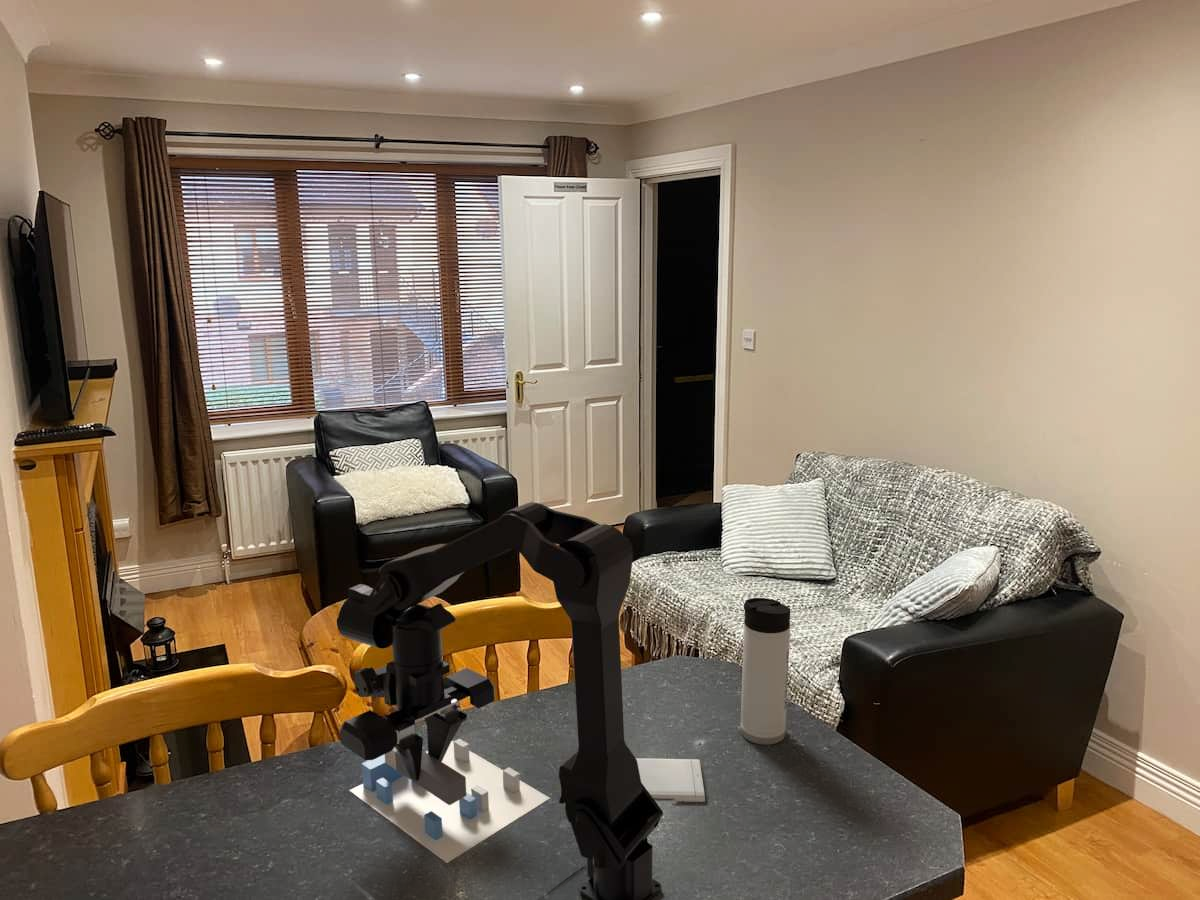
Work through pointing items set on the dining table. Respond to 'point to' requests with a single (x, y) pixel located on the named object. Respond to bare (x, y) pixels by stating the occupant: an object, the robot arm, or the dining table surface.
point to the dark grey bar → (433, 776)
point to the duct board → (437, 823)
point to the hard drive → (672, 778)
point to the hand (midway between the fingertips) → (424, 774)
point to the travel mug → (765, 670)
